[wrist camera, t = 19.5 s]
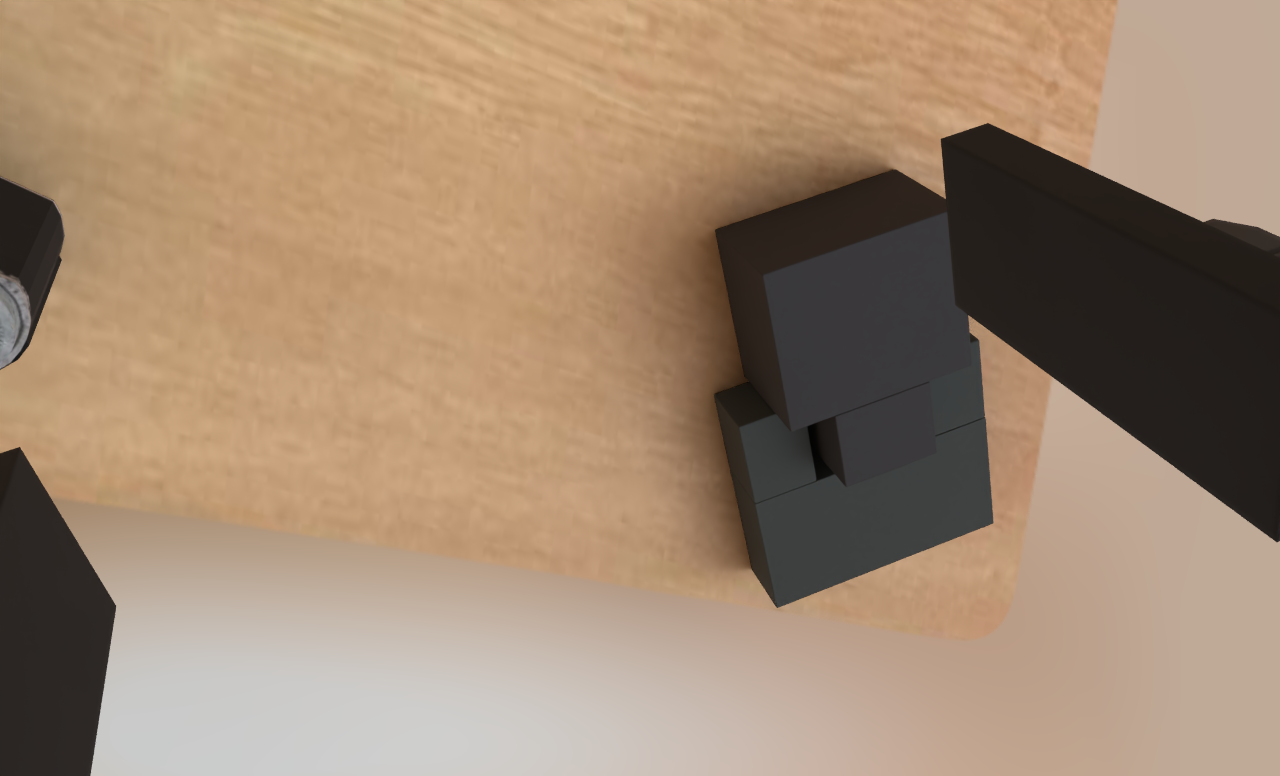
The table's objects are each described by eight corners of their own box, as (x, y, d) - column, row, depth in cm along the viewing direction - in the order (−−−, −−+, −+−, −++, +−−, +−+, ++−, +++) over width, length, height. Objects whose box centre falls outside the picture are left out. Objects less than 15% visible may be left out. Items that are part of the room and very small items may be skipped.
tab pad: (895, 168, 47) (960, 207, 43) (919, 385, 53) (978, 438, 48) (714, 229, 46) (762, 275, 42) (757, 444, 51) (803, 504, 47)
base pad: (943, 311, 51) (979, 339, 49) (960, 489, 56) (993, 523, 54) (713, 394, 50) (738, 427, 47) (751, 570, 55) (776, 608, 52)
